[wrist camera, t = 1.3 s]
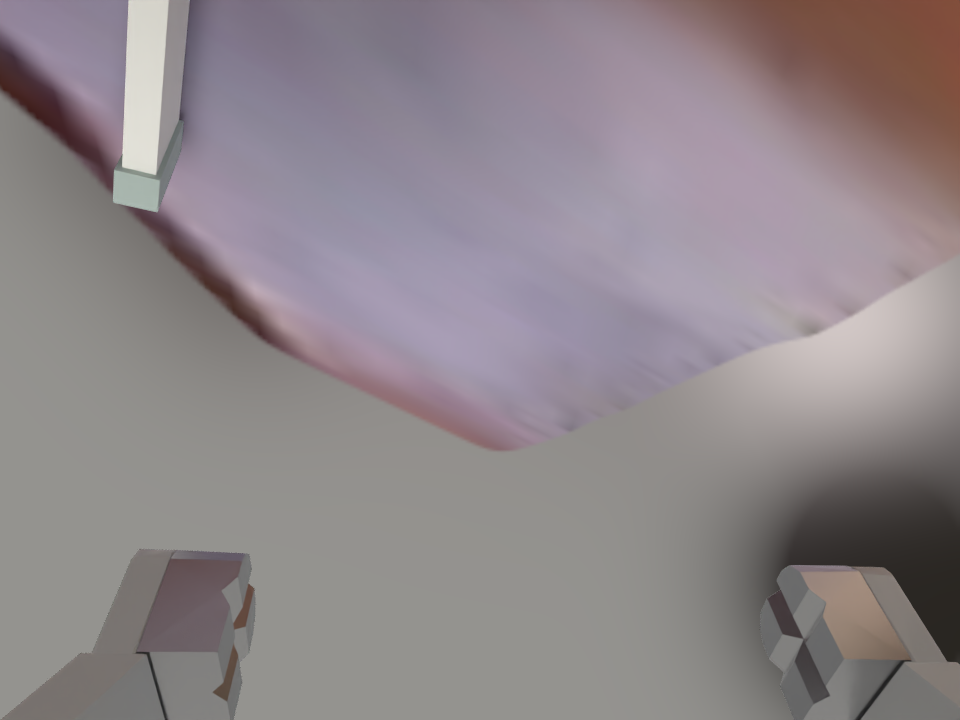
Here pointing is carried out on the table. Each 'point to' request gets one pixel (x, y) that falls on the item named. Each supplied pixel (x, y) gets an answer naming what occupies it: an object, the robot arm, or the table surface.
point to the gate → (151, 101)
